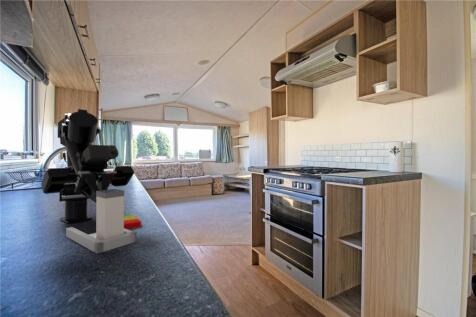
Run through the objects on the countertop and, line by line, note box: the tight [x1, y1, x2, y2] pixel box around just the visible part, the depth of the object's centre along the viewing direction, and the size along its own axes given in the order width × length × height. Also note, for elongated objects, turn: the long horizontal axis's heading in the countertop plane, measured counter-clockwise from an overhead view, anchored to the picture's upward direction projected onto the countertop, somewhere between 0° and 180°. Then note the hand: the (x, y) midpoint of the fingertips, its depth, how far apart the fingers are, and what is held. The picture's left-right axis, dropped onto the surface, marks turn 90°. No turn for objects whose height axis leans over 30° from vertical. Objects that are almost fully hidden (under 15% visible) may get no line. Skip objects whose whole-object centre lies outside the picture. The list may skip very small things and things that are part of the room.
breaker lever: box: [95, 188, 125, 241], centre depth 52 cm, size 4×4×11 cm
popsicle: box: [124, 214, 142, 230], centre depth 69 cm, size 6×15×2 cm, turn 37°
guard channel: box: [65, 226, 137, 255], centre depth 55 cm, size 16×8×2 cm, turn 55°
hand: (104, 205), depth 54 cm, fingers closed
